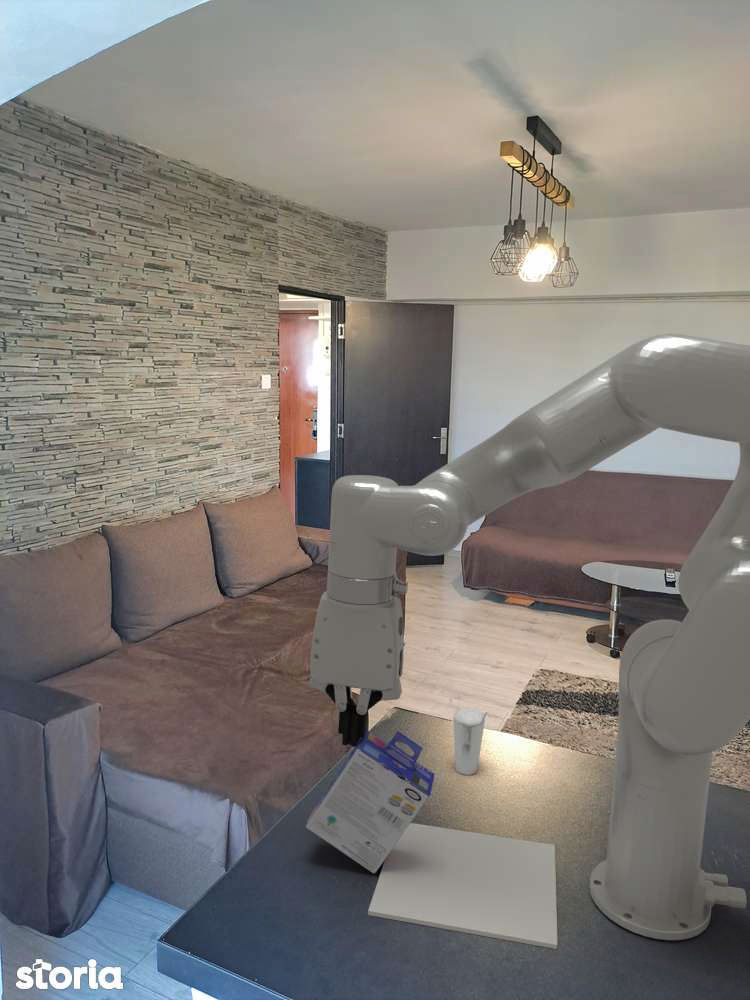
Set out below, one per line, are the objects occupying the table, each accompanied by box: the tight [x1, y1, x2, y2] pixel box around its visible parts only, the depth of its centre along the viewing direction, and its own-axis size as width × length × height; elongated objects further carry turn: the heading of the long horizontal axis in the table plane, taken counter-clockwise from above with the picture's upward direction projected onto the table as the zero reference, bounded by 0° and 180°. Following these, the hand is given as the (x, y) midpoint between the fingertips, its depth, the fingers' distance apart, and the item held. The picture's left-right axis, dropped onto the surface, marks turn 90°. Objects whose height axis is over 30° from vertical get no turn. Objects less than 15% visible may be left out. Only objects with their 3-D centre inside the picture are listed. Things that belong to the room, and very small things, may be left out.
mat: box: [367, 822, 558, 950], centre depth 86 cm, size 20×17×1 cm
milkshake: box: [452, 707, 488, 776], centre depth 110 cm, size 4×5×10 cm
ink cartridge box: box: [305, 729, 435, 874], centre depth 88 cm, size 10×6×14 cm, turn 79°
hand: (352, 740), depth 87 cm, fingers closed
